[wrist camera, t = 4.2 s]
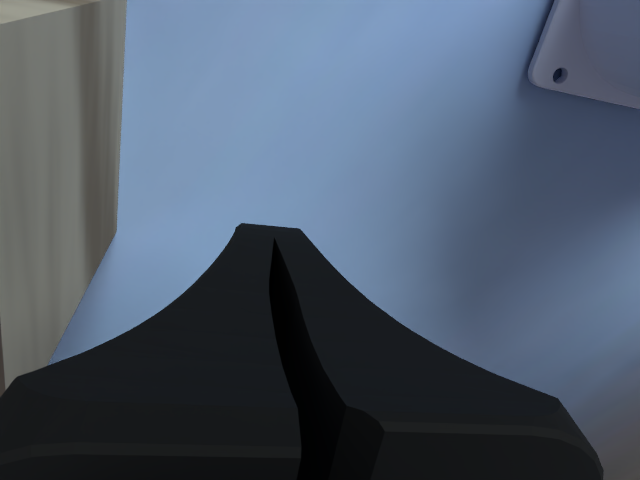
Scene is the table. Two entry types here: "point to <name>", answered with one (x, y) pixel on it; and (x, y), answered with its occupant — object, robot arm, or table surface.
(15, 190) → the ash block
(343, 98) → the table surface
